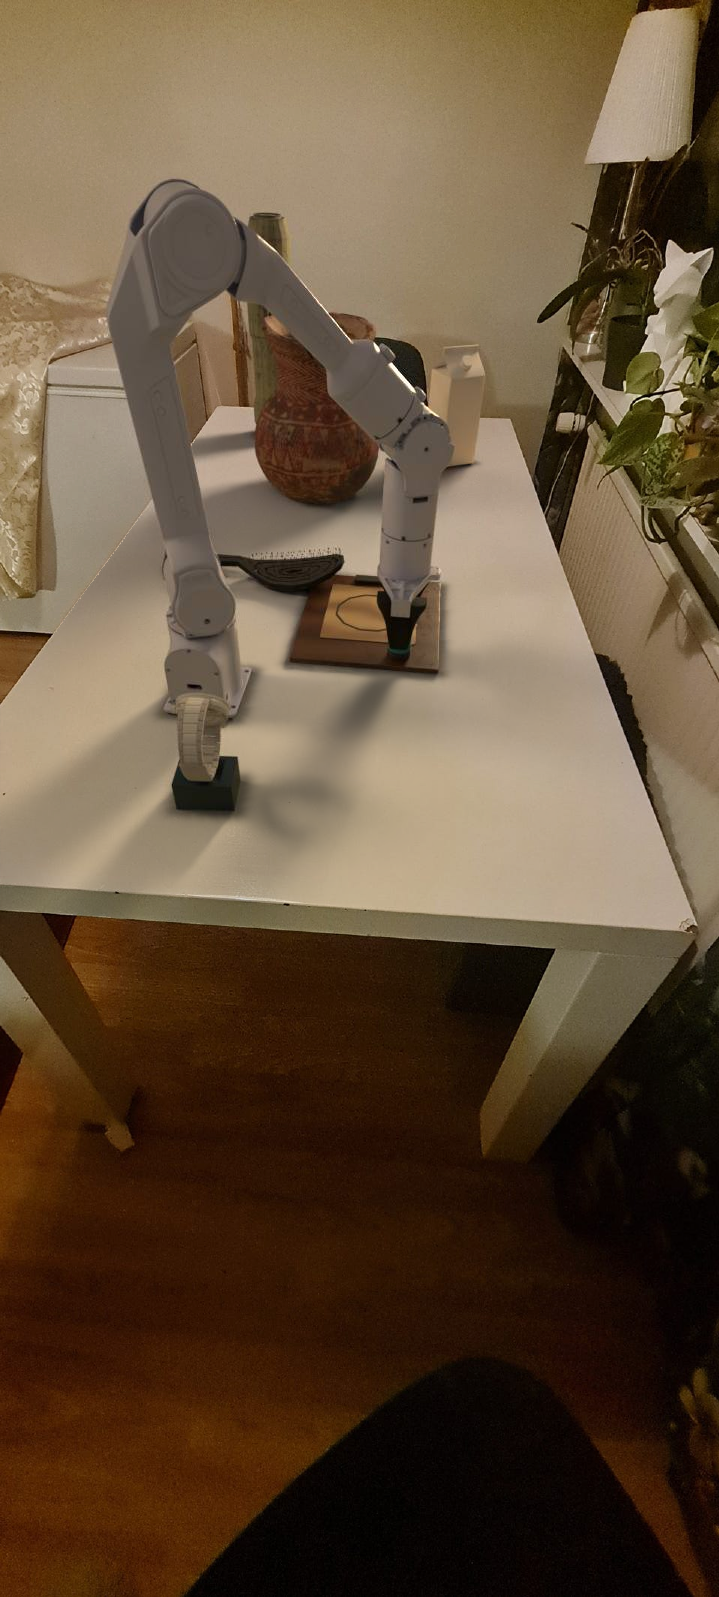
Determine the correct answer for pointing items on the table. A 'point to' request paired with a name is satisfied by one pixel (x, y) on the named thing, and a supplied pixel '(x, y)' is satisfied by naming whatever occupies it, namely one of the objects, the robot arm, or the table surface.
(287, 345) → the jug
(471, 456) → the milk carton
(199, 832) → the table surface
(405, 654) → the dot marker
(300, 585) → the hairbrush
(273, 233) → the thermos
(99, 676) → the table surface
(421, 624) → the clipboard
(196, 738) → the watch
